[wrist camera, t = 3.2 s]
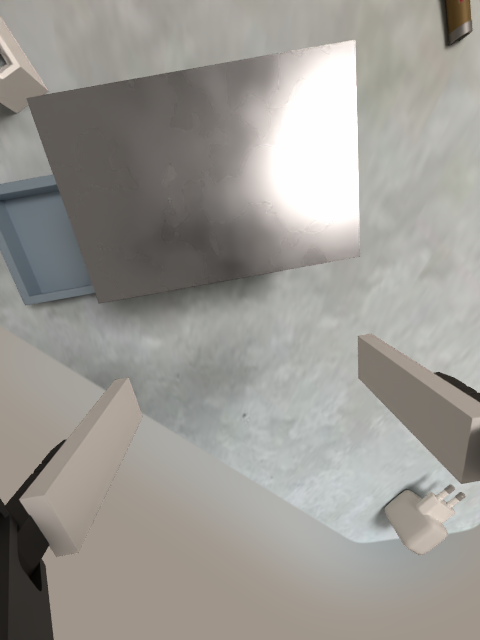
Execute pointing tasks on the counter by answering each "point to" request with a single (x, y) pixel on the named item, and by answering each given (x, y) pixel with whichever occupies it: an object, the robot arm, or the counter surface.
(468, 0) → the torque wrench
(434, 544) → the power adapter
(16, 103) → the white wedge bracket
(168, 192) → the box
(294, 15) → the counter surface
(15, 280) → the tray
